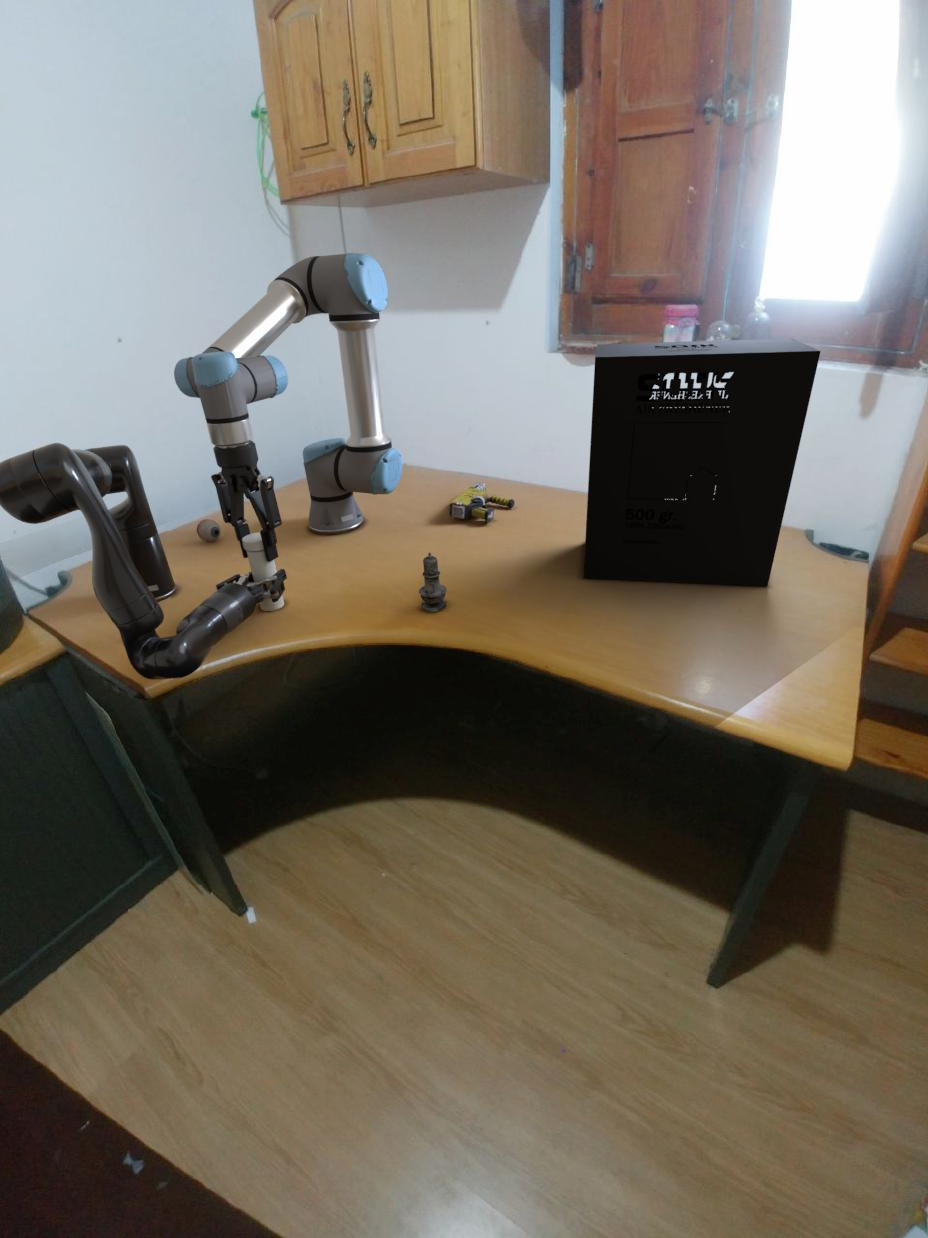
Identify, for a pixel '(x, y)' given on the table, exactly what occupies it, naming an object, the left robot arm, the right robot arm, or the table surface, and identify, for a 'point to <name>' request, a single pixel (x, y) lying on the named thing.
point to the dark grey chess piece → (432, 586)
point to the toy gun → (476, 504)
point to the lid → (253, 542)
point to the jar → (264, 576)
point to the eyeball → (208, 530)
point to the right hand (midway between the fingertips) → (260, 556)
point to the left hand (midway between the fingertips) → (272, 572)
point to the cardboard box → (693, 458)
